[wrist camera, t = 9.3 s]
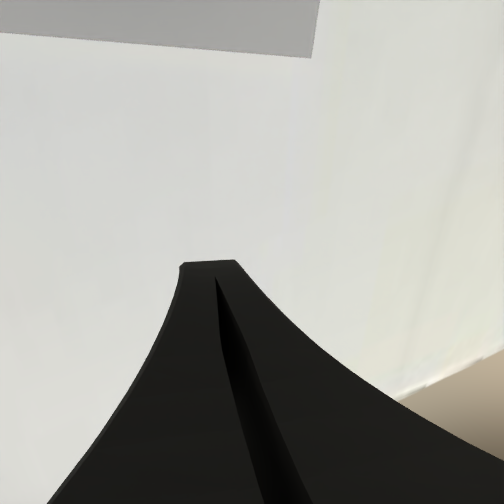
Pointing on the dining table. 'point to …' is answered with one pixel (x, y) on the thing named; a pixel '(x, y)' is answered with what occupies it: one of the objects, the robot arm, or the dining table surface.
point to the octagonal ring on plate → (172, 23)
